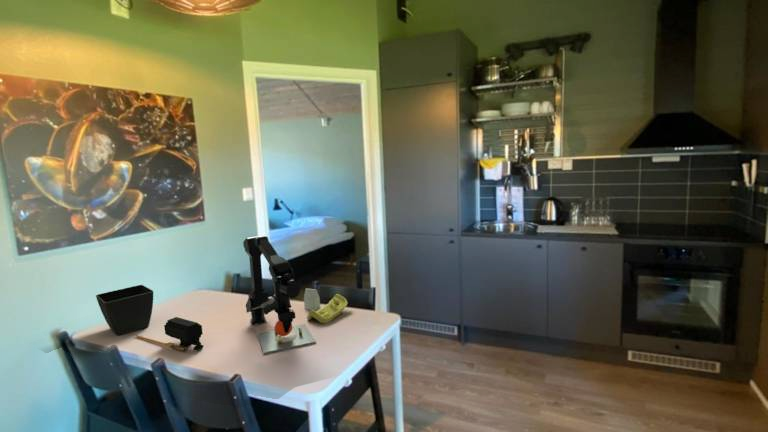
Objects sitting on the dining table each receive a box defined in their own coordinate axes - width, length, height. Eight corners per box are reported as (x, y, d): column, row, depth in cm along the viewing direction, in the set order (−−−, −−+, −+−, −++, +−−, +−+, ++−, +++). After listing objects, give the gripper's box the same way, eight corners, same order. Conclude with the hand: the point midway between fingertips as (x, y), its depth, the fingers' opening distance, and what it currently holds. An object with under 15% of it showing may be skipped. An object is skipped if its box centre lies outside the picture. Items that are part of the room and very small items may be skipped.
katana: (138, 339, 178) (137, 333, 178) (187, 351, 160) (186, 345, 160) (134, 340, 177) (133, 334, 177) (183, 353, 159) (182, 346, 159)
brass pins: (274, 333, 171) (274, 327, 171) (299, 328, 175) (298, 322, 175) (279, 344, 161) (278, 337, 160) (304, 339, 165) (304, 332, 164)
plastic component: (326, 320, 180) (309, 308, 184) (322, 332, 183) (305, 320, 187) (351, 302, 197) (335, 291, 200) (347, 314, 200) (331, 303, 203)
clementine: (292, 329, 172) (291, 313, 171) (297, 335, 166) (296, 319, 165) (273, 334, 169) (272, 317, 168) (277, 340, 163) (276, 323, 162)
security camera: (192, 353, 158) (189, 329, 157) (165, 344, 168) (162, 321, 167) (208, 346, 164) (206, 322, 163) (181, 338, 174) (178, 315, 172)
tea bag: (315, 311, 198) (314, 291, 197) (304, 309, 201) (303, 289, 200) (320, 308, 201) (318, 288, 200) (309, 306, 205) (308, 287, 203)
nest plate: (257, 335, 173) (257, 333, 173) (304, 325, 180) (304, 323, 180) (263, 354, 155) (263, 352, 154) (315, 343, 162) (315, 341, 162)
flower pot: (100, 329, 188) (95, 294, 186) (146, 317, 201) (141, 283, 199) (110, 340, 175) (104, 302, 172) (158, 326, 188) (154, 291, 186)
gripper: (258, 289, 170) (261, 325, 172) (264, 302, 153) (267, 342, 155) (285, 285, 175) (288, 320, 177) (294, 297, 158) (297, 336, 160)
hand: (285, 329), depth 167 cm, fingers closed on clementine, 7 cm apart
